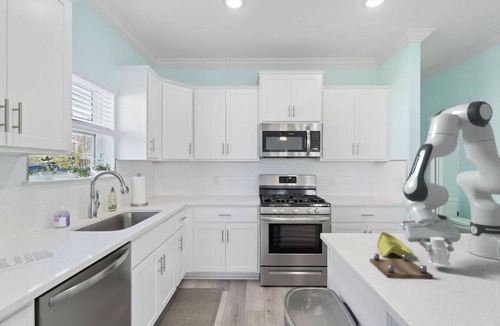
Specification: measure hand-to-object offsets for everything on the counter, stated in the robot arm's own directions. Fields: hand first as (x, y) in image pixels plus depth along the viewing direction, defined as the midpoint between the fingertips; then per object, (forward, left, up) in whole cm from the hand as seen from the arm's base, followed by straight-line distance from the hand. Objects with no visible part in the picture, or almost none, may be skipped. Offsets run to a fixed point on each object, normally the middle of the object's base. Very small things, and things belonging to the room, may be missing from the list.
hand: (440, 250), depth 100 cm
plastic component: (+9, -20, -8) cm, 23 cm away
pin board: (+16, 0, -7) cm, 18 cm away
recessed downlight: (0, -1, -5) cm, 5 cm away
